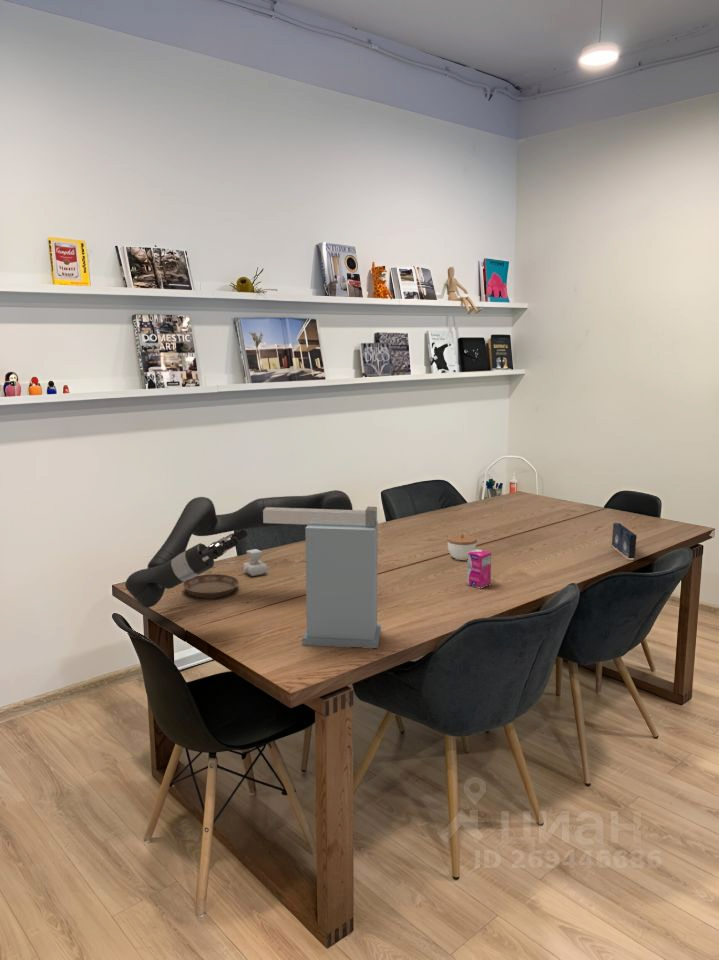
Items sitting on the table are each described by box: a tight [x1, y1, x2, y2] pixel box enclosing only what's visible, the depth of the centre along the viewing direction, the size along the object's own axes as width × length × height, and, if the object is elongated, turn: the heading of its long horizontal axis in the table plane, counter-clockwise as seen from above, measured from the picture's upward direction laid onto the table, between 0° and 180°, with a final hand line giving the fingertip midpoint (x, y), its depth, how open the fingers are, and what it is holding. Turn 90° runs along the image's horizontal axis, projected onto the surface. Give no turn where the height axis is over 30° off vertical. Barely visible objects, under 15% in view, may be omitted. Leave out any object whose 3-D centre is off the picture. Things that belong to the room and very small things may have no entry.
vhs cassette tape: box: [611, 522, 638, 558], centre depth 282 cm, size 18×3×10 cm, turn 179°
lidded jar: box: [446, 533, 478, 559], centre depth 276 cm, size 11×11×9 cm
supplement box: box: [466, 548, 492, 588], centre depth 245 cm, size 6×6×12 cm
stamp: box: [242, 548, 269, 577], centre depth 256 cm, size 9×7×8 cm
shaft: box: [263, 506, 378, 527], centre depth 197 cm, size 30×4×4 cm, turn 82°
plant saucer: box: [182, 573, 240, 599], centre depth 240 cm, size 18×18×3 cm
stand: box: [301, 520, 382, 649], centre depth 200 cm, size 20×12×32 cm, turn 84°
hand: (241, 535), depth 201 cm, fingers open, 8 cm apart
